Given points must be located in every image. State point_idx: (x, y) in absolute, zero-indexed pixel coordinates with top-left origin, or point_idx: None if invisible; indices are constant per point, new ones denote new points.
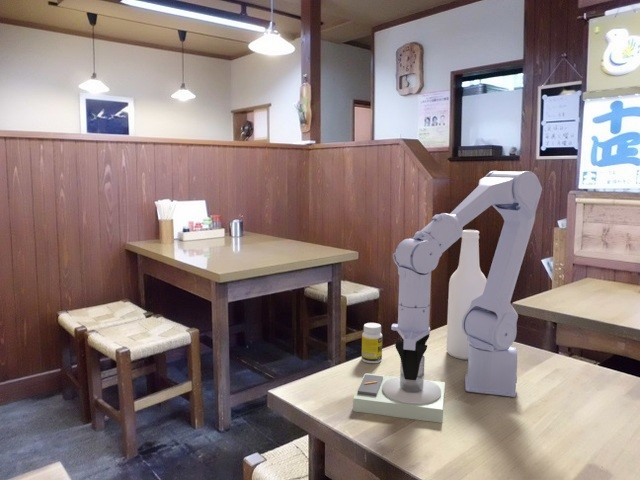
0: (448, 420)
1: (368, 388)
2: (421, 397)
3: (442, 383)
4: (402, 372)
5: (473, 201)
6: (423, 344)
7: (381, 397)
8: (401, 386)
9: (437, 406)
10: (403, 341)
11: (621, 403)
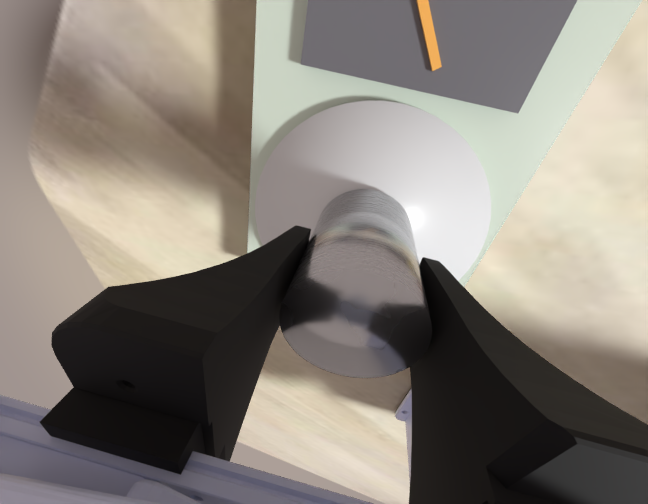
0: None
1: (356, 9)
2: None
3: None
4: (328, 227)
5: None
6: (415, 445)
7: (296, 91)
8: (343, 195)
9: None
10: (193, 404)
11: (371, 490)
